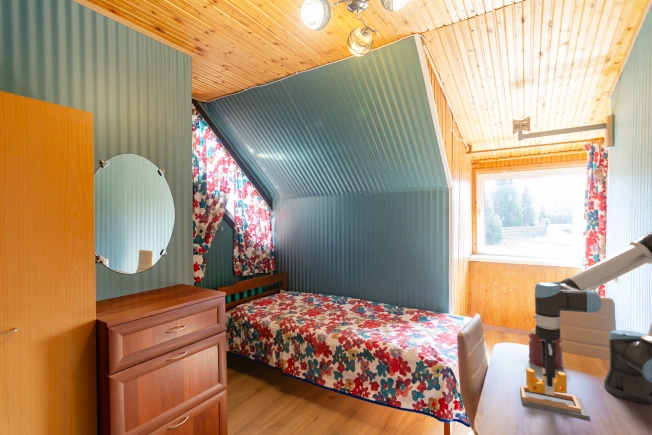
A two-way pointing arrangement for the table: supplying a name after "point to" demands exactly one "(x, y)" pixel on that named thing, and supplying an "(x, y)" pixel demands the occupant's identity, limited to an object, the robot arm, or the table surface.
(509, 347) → the table surface
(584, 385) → the table surface
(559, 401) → the holder board
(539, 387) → the pipe clamp
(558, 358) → the canister
